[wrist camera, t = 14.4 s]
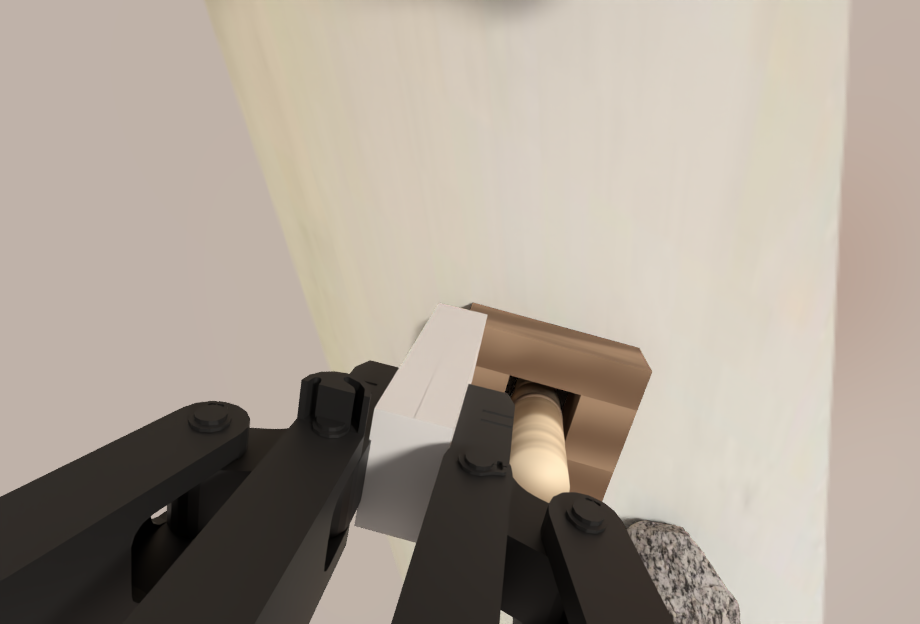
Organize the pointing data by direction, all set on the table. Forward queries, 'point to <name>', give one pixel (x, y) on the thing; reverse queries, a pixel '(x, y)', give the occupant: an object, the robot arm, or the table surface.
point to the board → (570, 386)
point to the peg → (538, 441)
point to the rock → (683, 575)
